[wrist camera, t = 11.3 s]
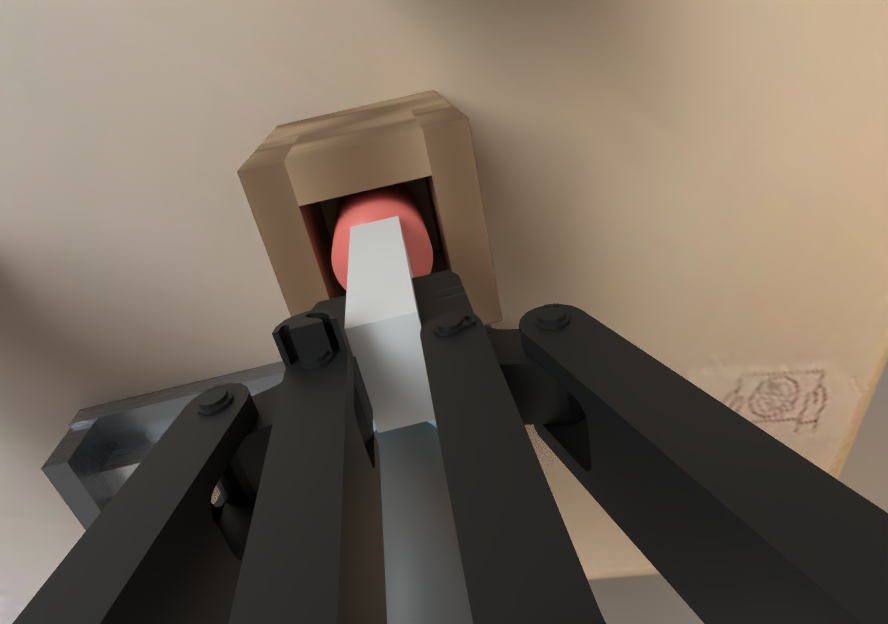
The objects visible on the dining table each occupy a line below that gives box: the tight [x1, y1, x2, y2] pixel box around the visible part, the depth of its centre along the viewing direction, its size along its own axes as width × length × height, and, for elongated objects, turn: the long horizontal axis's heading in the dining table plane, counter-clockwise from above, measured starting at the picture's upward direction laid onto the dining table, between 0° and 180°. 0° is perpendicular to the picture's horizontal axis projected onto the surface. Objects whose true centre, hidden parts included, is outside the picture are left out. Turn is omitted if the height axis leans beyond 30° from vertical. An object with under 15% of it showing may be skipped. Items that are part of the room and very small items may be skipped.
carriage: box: [373, 419, 473, 624], centre depth 23 cm, size 6×6×13 cm
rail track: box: [41, 323, 491, 531], centre depth 29 cm, size 22×6×4 cm, turn 101°
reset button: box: [331, 183, 433, 291], centre depth 20 cm, size 3×3×4 cm
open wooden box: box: [237, 91, 502, 325], centre depth 22 cm, size 7×8×9 cm
